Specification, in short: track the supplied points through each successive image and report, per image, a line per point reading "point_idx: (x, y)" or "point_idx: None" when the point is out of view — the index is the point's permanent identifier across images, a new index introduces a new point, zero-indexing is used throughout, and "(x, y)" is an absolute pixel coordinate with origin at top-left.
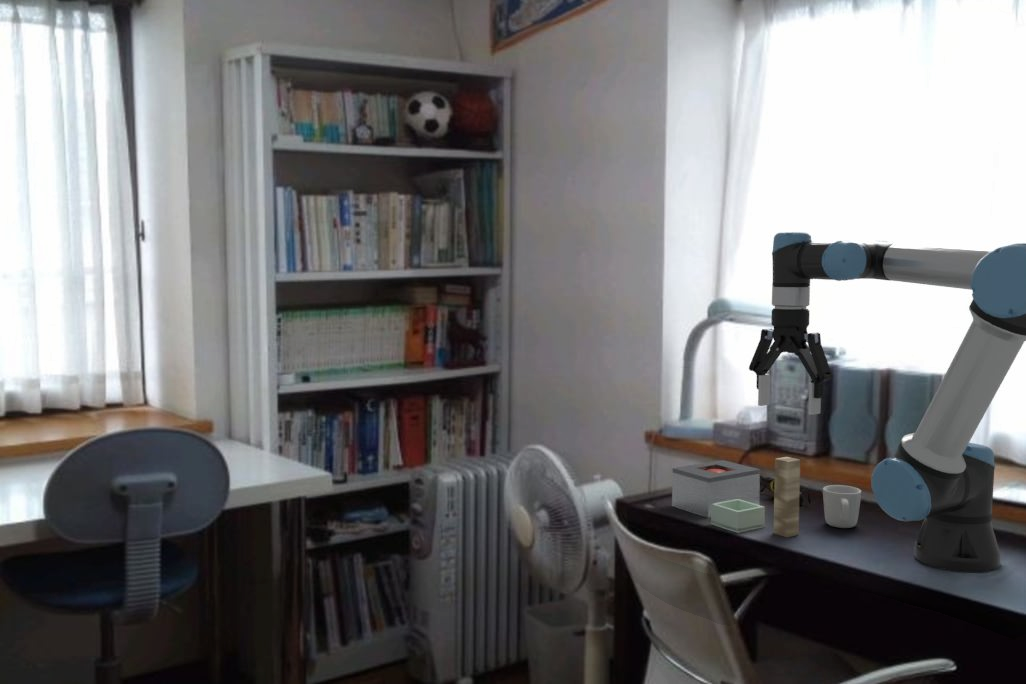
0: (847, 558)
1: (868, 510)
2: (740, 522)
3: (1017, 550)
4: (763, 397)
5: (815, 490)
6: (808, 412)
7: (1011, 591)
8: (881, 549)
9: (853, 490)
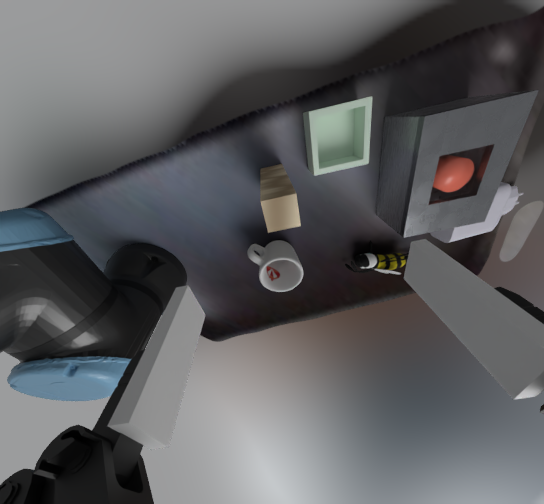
0: (167, 185)
1: (307, 297)
2: (305, 118)
3: None
4: (430, 273)
5: (384, 296)
6: (186, 289)
7: None
8: (193, 237)
9: (281, 287)
